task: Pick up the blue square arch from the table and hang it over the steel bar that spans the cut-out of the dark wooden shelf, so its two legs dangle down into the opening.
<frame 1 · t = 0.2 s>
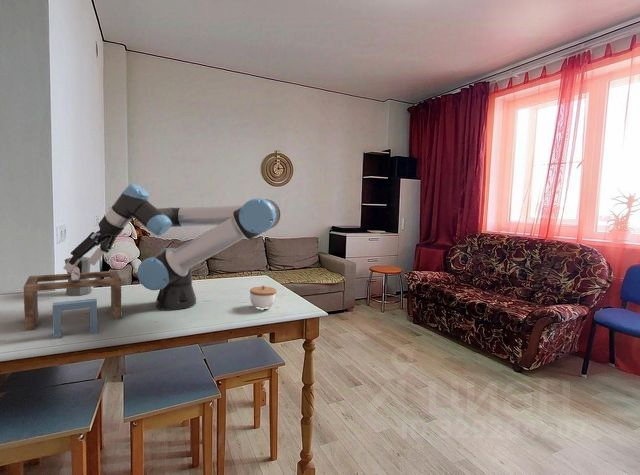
hand: (79, 266, 125), 17 cm above the table, tool tilted 35°, fingers open, 12 cm apart
coffeepot: (79, 294, 147), on the table
blue square arch: (76, 332, 107), on the table
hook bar: (75, 274, 119), on the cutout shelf, point 15 cm above the table
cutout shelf: (76, 316, 120), on the table
lidded jar: (262, 308, 142), on the table
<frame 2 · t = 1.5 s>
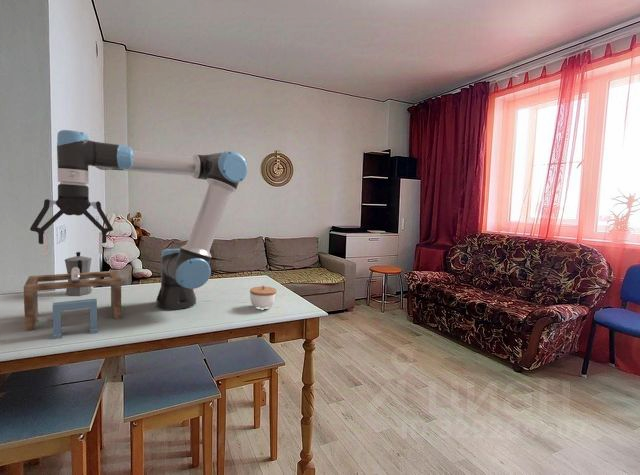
hand: (74, 254, 105), 25 cm above the table, tool pointing down, fingers open, 13 cm apart
nothing on the table moved.
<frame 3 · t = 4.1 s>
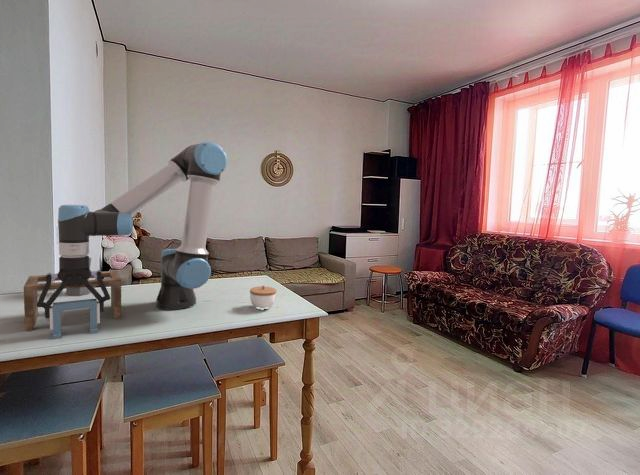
hand: (75, 325, 107), 3 cm above the table, tool pointing down, fingers closed on blue square arch, 11 cm apart
blue square arch: (75, 332, 107), on the table, touching gripper
everything else where it was.
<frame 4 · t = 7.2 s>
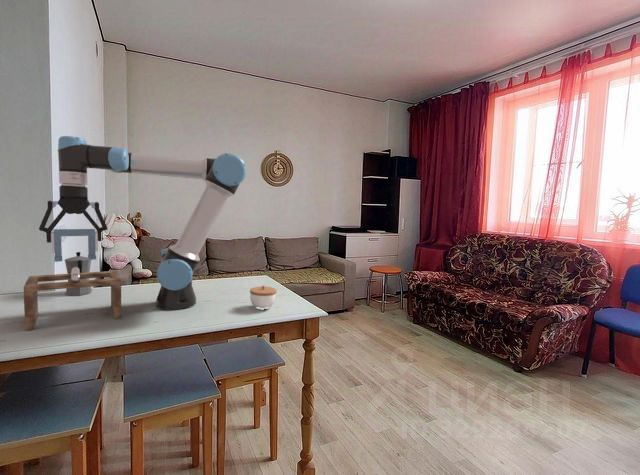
hand: (75, 251, 114), 24 cm above the table, tool pointing down, fingers closed on blue square arch, 11 cm apart
blue square arch: (75, 259, 115), point 21 cm above the table, touching gripper
everything else where it was.
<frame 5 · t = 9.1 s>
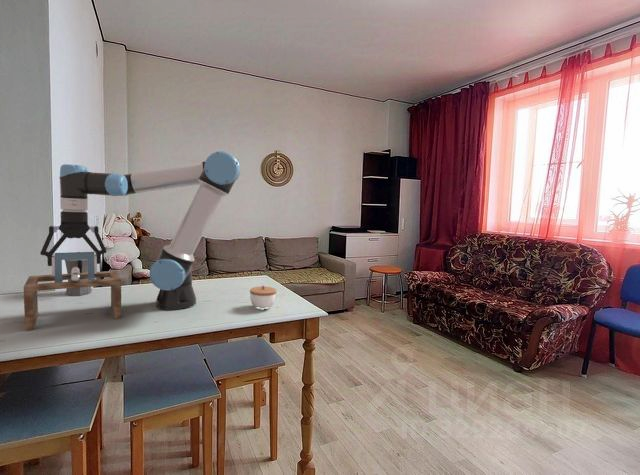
hand: (75, 274, 119), 15 cm above the table, tool pointing down, fingers closed on blue square arch, 11 cm apart
blue square arch: (75, 281, 119), point 13 cm above the table, touching gripper
everything else where it was.
when the fingers open (12 cm above the table, at t = 10.3 s): blue square arch drops 2 cm, resting on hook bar.
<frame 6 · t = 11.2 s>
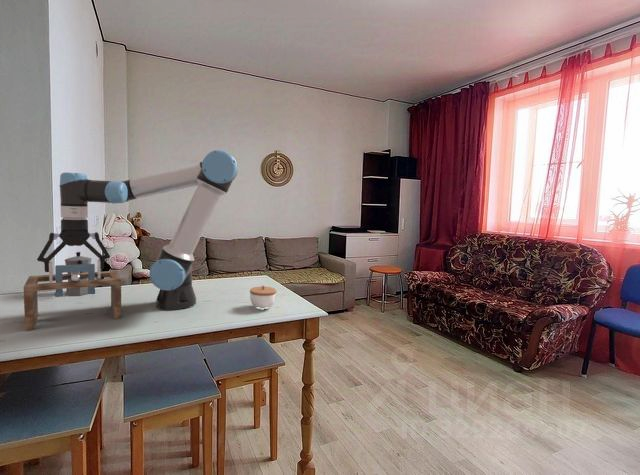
hand: (75, 279, 119), 13 cm above the table, tool pointing down, fingers open, 13 cm apart
blue square arch: (75, 293, 119), point 8 cm above the table, touching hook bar
everything else where it was.
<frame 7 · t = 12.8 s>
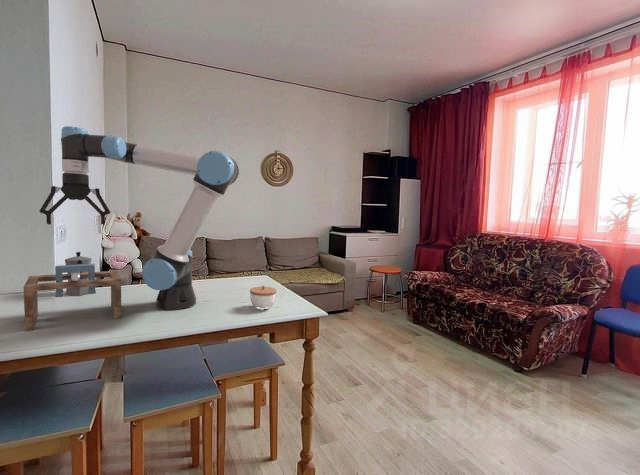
hand: (77, 233, 121), 29 cm above the table, tool pointing down, fingers open, 13 cm apart
nothing on the table moved.
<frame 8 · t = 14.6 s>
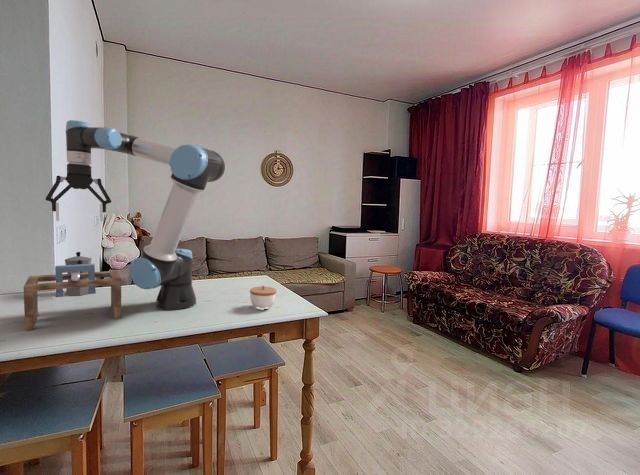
hand: (80, 220, 130), 33 cm above the table, tool pointing down, fingers open, 13 cm apart
nothing on the table moved.
at the end: blue square arch point 8.4 cm above the table; blue square arch 0.0 cm from the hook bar (horizontally); blue square arch touching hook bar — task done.
